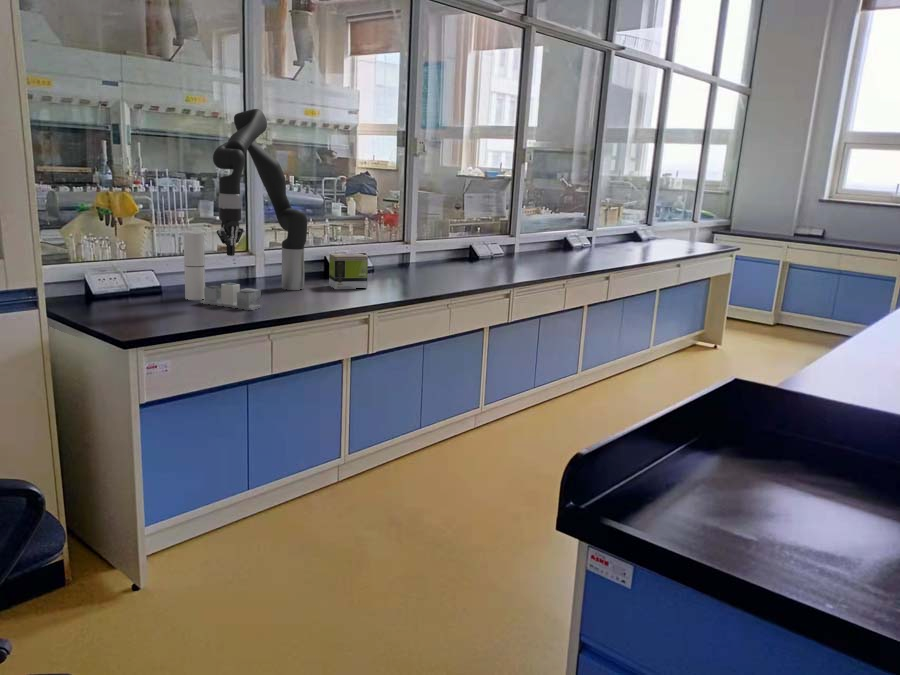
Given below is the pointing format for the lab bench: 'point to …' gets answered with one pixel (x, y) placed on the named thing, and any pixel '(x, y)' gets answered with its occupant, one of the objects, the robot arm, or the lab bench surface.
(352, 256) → the tea box
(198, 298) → the cylindrical container
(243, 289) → the supply block
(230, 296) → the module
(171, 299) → the lab bench surface
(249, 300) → the rail
